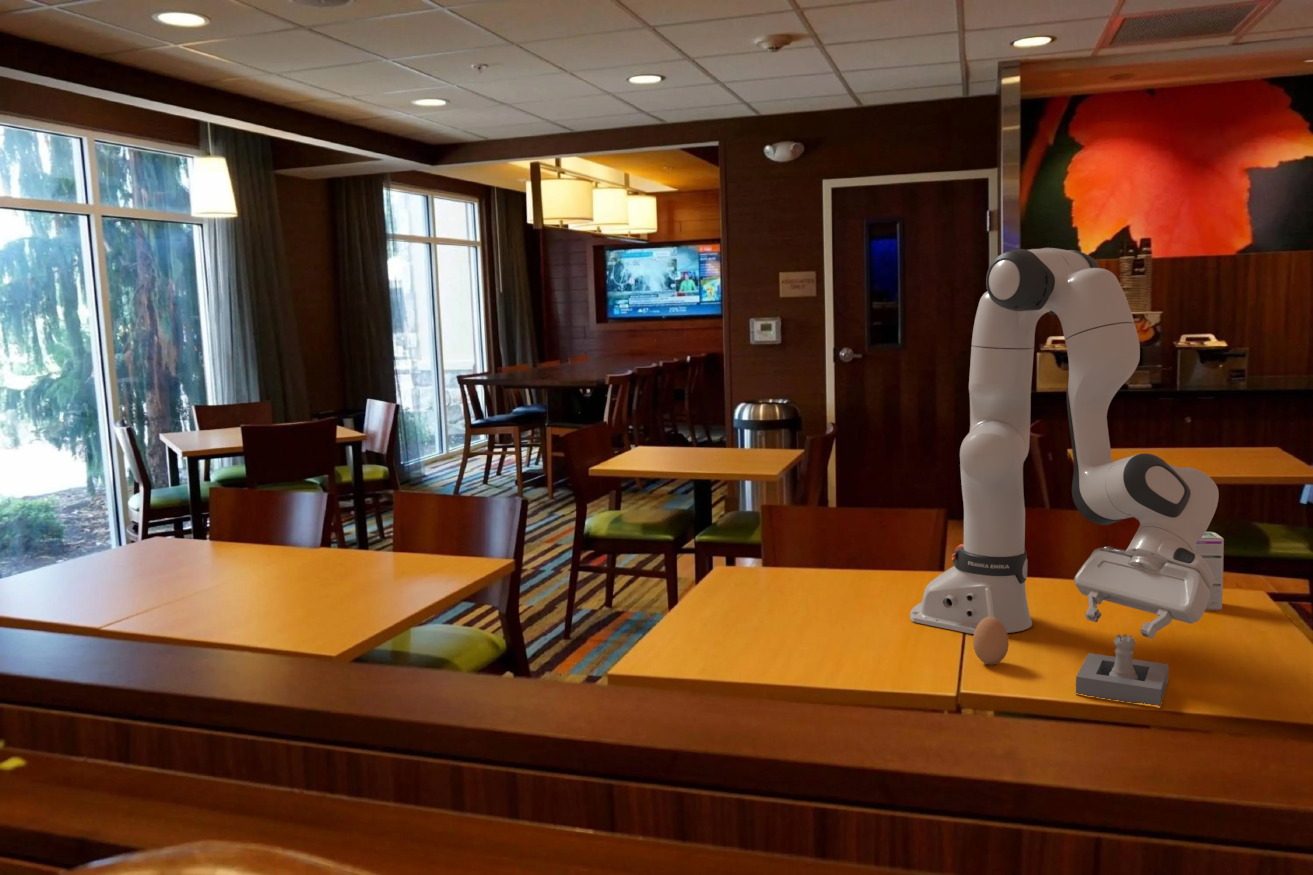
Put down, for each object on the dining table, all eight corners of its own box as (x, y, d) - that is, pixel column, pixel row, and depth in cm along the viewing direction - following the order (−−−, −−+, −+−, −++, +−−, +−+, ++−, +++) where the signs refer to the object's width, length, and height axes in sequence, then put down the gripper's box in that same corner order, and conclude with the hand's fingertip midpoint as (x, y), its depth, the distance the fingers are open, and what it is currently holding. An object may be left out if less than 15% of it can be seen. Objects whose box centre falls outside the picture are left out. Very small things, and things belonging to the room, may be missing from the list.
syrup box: (1223, 610, 202) (1226, 537, 200) (1190, 609, 203) (1193, 537, 201) (1213, 601, 208) (1216, 531, 206) (1181, 601, 209) (1184, 530, 207)
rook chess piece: (1110, 678, 168) (1112, 630, 167) (1140, 683, 165) (1142, 635, 164) (1105, 687, 164) (1106, 638, 163) (1135, 692, 162) (1137, 643, 161)
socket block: (1075, 694, 163) (1076, 676, 162) (1088, 670, 173) (1088, 653, 172) (1160, 708, 157) (1161, 689, 156) (1167, 682, 167) (1168, 664, 166)
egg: (977, 656, 181) (977, 610, 180) (1011, 661, 178) (1012, 614, 177) (969, 666, 176) (969, 619, 175) (1004, 672, 173) (1004, 623, 172)
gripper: (1090, 533, 174) (1051, 599, 170) (1212, 559, 157) (1172, 633, 153) (1104, 555, 177) (1066, 620, 173) (1225, 583, 161) (1186, 656, 157)
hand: (1117, 627), depth 163 cm, fingers open, 8 cm apart
